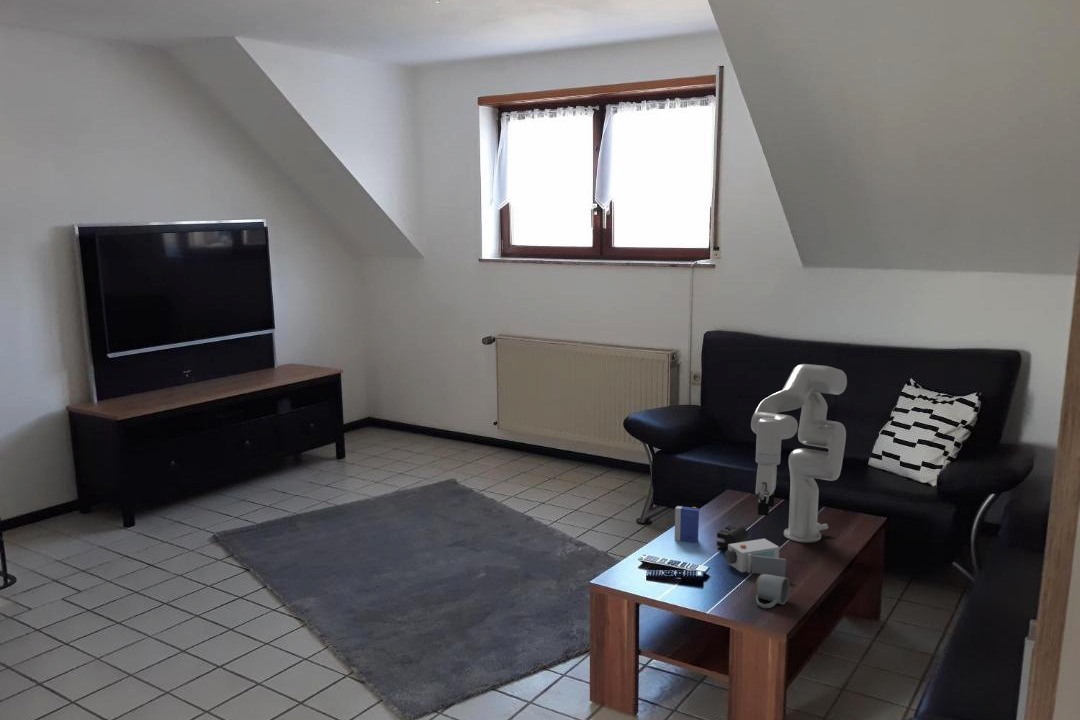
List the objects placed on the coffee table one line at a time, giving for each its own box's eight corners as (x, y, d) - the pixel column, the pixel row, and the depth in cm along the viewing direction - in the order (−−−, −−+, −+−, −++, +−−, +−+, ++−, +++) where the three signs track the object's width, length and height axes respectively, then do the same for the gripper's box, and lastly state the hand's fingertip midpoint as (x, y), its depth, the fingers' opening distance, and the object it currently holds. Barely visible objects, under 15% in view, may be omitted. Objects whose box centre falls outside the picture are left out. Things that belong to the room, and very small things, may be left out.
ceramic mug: (762, 592, 257) (763, 568, 256) (789, 598, 252) (790, 574, 251) (749, 605, 248) (750, 580, 247) (776, 612, 244) (777, 587, 242)
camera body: (763, 557, 284) (764, 536, 282) (778, 566, 276) (779, 545, 275) (723, 564, 278) (723, 543, 277) (737, 573, 271) (738, 552, 269)
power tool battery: (735, 555, 286) (736, 535, 285) (715, 550, 290) (716, 531, 289) (747, 546, 294) (748, 527, 293) (728, 541, 298) (729, 522, 297)
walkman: (698, 540, 299) (699, 507, 297) (696, 543, 296) (697, 509, 294) (676, 537, 302) (676, 504, 300) (674, 540, 299) (674, 507, 297)
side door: (785, 576, 268) (785, 558, 267) (784, 577, 267) (785, 559, 266) (747, 571, 272) (748, 553, 271) (747, 573, 270) (747, 555, 269)
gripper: (760, 450, 277) (758, 501, 279) (750, 463, 261) (748, 517, 264) (784, 452, 274) (782, 504, 276) (775, 465, 258) (773, 520, 261)
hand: (765, 510), depth 270 cm, fingers open, 9 cm apart
